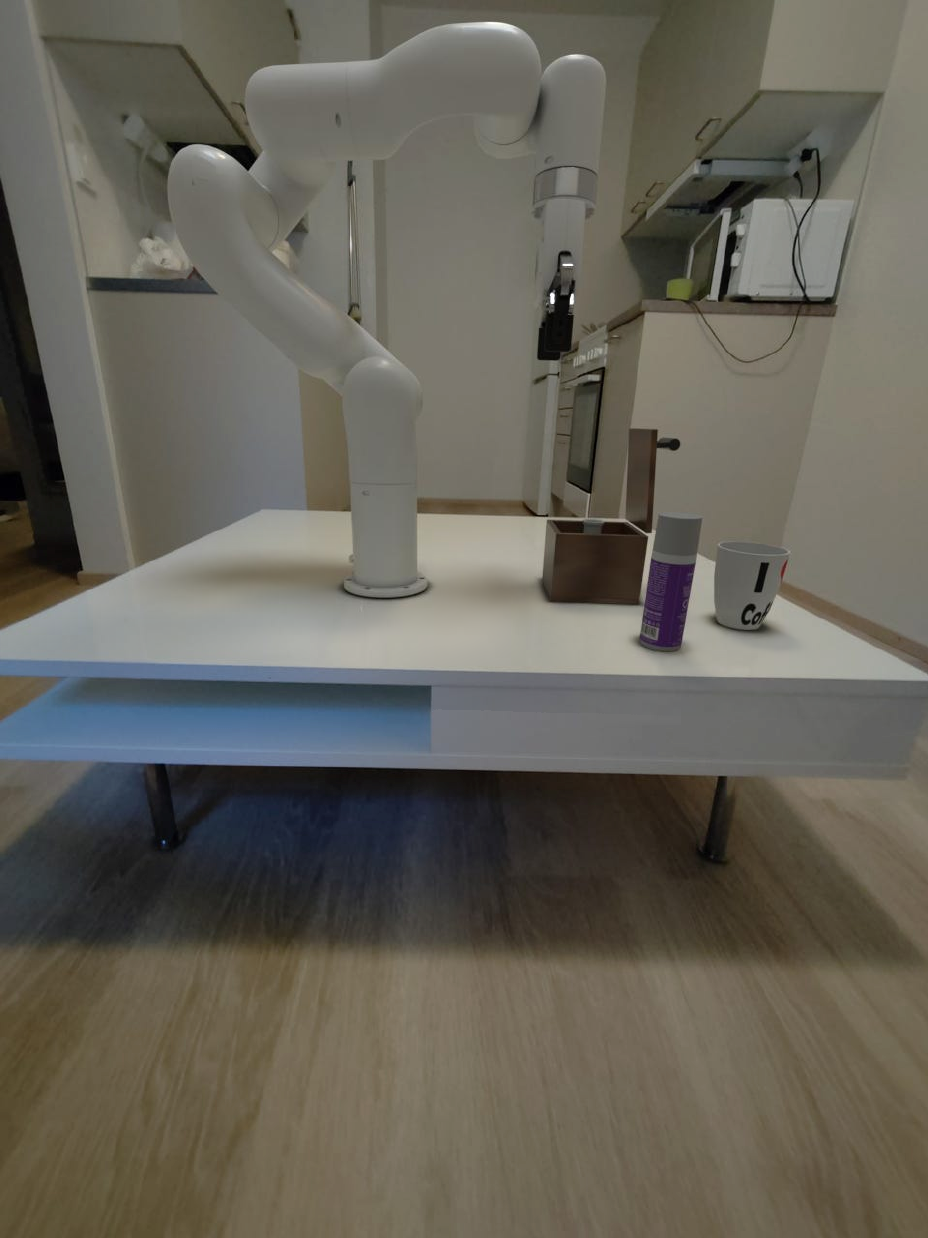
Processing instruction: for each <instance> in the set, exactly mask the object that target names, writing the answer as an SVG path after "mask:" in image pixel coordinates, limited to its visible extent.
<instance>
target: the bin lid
mask: <svg viewBox="0 0 928 1238" xmlns="http://www.w3.org/2000/svg"><path fill="white" fill-rule="evenodd" d="M658 435H659V429H657V428H637V427H636V428H632V427H631V428H628V446H627V469H626V472H627V473H626V493H625V494H626V495H625V517H624V519H625V521H626V522H628V523H629V524H631V525H632V526H634V527H635V528H637V529H638V530H640V531H641V532H643V533H644V534H652V533H653V521H654V502H655V488H656V487H655V484H656V469H657V451H658V449H660V450H663V451H664V450H665V451H671V452H675V451H678V450H679V449H680V447H681V440H680V439H678V438H675V437H661V438H659V439H658Z"/></svg>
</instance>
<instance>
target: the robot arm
mask: <svg viewBox="0 0 928 1238" xmlns="http://www.w3.org/2000/svg"><path fill="white" fill-rule="evenodd" d="M540 57H541V56H540V53H539V50H538V48H537V45H536V44H535V42H534V41H533V39H532V37H531V36H530V35H529V34H527V32H525V30H523V29H521V28H520V27H517V26H515V25H512V24H510V23H506V22H499V21H476V22H461V23H460V22H459V23H458V22H455V23H447V24H442V25H439V26H435V27H432V28H429V29H427V30H424V31H423V32H420V33H418V34H417V35H415V36H414V37H412V38H409V39H408V40H406V41H405V42H403V43H401V44H399V45H398V46H396V47H394V48H393V49H391V50H390V51H389V52H388V53H386V54H385V55H383V56H381V57H379V58H376V59H370V60H353V61H352V60H351V61H337V62H336V61H335V62H315V63H314V62H313V63H294V64H291V63H290V64H278V65H276V64H275V65H269V66H265V67H262V68H259V69H258V70H257V71H255V72H254V73H253V74H252V75H251V76H250V78H249V80H248V82H247V84H246V86H245V91H244V110H245V116H246V120H247V122H248V125H249V128H250V130H251V133H252V135H253V137H254V139H255V141H256V143H257V144H258V145H259V147H260V148H261V150H262V151H261V152H260V155H259V156H258V157H257V159H255V161H254V163H253V164H252V166H251V167H250V168H249V170H247V169H246V168H245V167H244V166H243V165H242V164H241V163H240V162H239V161H238V160H237V159H235V158H234V157H233V156H231V155H230V154H228V153H226V152H225V151H223V150H221V149H219V148H216V147H214V146H211V145H209V144H200V143H196V144H194V143H193V144H189V145H187V146H185V147H183V148H181V149H180V150H179V151H177V153H176V154H175V156H174V157H173V158H172V160H171V163H170V166H169V170H168V175H167V185H166V186H167V188H166V189H167V190H166V193H167V203H168V209H169V210H168V211H169V214H170V219H171V222H172V225H173V229H174V231H175V234H176V237H177V239H178V241H179V243H180V245H181V248H182V249H183V251H184V253H185V255H186V256H187V259H188V260H189V261H190V263H191V264H192V266H193V267H194V269H195V270H196V271H197V272H198V274H199V275H200V276H201V277H202V279H203V280H204V281H205V282H206V283H207V284H208V285H209V286H210V287H211V289H213V290H214V292H215V293H217V294H218V296H220V297H221V298H222V299H223V300H224V301H225V302H226V303H227V304H228V305H229V306H231V307H232V308H233V309H234V310H235V311H236V312H237V313H238V314H239V315H240V316H242V317H243V318H244V319H245V320H246V321H247V322H248V323H249V324H250V325H251V326H252V327H253V328H254V329H255V330H256V331H257V332H258V333H260V334H261V335H262V336H263V337H264V338H265V339H266V340H268V341H269V342H270V343H271V344H272V345H273V346H274V347H276V349H278V350H279V351H280V352H281V353H282V354H283V355H284V356H285V357H286V358H287V359H288V360H289V361H291V362H292V364H294V366H295V367H297V369H299V370H300V371H302V372H303V373H305V374H306V375H308V376H310V377H313V378H317V379H320V380H322V381H324V382H325V383H326V384H327V385H329V387H331V388H332V389H333V390H334V391H335V392H336V393H338V394H339V395H340V396H341V407H342V408H341V409H342V415H343V416H342V417H343V424H344V430H345V437H346V446H347V459H348V460H347V461H348V478H349V479H348V480H349V493H350V494H349V495H350V496H349V497H350V517H351V538H352V539H351V541H352V542H351V543H352V554H350V555H349V556H348V561H349V563H351V564H353V572H352V573H350V574H348V575H347V576H345V577H344V578H343V588H344V590H346V591H347V592H349V593H351V594H353V595H356V596H361V597H367V598H377V599H378V598H379V599H380V598H382V599H383V598H385V599H386V598H400V597H407V596H412V595H416V594H419V593H421V592H423V591H425V590H426V589H427V587H428V583H429V582H428V578H427V576H426V575H424V574H423V573H421V572H418V460H417V434H416V433H417V431H416V429H417V428H416V422H417V421H418V419H419V418H420V416H421V413H422V411H423V408H424V393H423V388H422V386H421V383H420V381H419V380H418V378H417V377H416V375H415V374H414V373H413V372H412V371H411V370H410V369H409V368H408V367H406V366H405V365H404V364H403V363H402V362H401V361H400V360H398V359H397V358H396V357H395V356H394V355H393V353H391V352H390V351H389V350H388V349H386V348H385V346H383V345H382V344H381V343H380V342H379V341H377V339H376V338H374V336H372V335H371V334H370V333H369V332H368V331H367V330H366V329H364V328H363V327H362V326H361V325H360V324H359V323H358V322H356V320H355V319H353V318H352V317H351V316H350V315H348V314H347V313H346V312H344V311H343V310H342V309H341V308H339V307H338V306H336V305H335V304H333V303H331V302H329V301H328V300H326V299H325V298H323V297H322V296H321V295H320V294H318V293H317V292H316V291H314V289H312V287H310V286H309V285H308V284H306V283H305V282H304V280H302V279H301V278H300V277H299V276H297V275H296V274H295V273H294V272H293V271H292V270H291V269H290V268H289V267H288V266H287V264H285V263H284V262H283V261H282V260H280V259H279V258H278V257H277V256H276V255H275V253H273V252H274V251H276V250H277V249H278V248H279V247H280V246H281V245H282V244H283V243H284V242H285V240H286V239H287V238H288V237H289V235H290V234H291V232H293V230H294V229H295V227H296V226H297V225H298V223H300V221H301V220H302V218H304V216H305V214H307V212H308V211H309V210H310V208H311V207H312V206H313V204H314V203H315V202H316V201H317V199H318V198H319V196H320V195H321V194H322V192H323V191H324V189H325V188H326V187H327V185H328V184H329V181H330V180H331V178H332V176H333V174H334V171H335V170H336V166H337V163H338V162H355V161H356V162H357V161H381V160H382V161H383V160H388V159H390V158H392V157H393V156H395V154H396V153H397V151H399V149H400V148H401V147H402V145H403V144H404V142H405V141H406V140H407V138H408V137H409V136H410V135H411V134H412V133H413V132H415V131H416V130H417V129H419V128H421V127H422V126H424V125H427V124H428V123H431V122H434V121H437V120H440V119H441V120H442V119H446V118H453V117H472V128H473V134H474V137H475V141H476V142H477V144H478V146H479V148H480V149H481V150H482V151H483V152H484V153H485V154H486V155H488V156H490V157H491V158H493V159H498V160H499V159H500V160H510V159H516V158H520V157H524V156H529V155H530V156H531V155H535V158H534V159H535V161H534V175H533V176H534V178H533V189H532V190H533V191H532V192H533V193H532V209H531V215H532V217H533V218H534V219H536V220H537V221H539V225H538V234H537V245H536V254H535V255H536V256H535V269H534V284H533V293H532V294H533V296H532V304H531V305H532V308H533V309H534V310H538V309H539V307H542V308H541V315H540V322H539V323H540V324H539V327H538V336H537V349H536V350H537V351H536V359H537V360H538V361H551V362H552V361H553V362H555V361H559V360H561V357H562V355H561V354H562V353H569V352H570V351H571V350H572V342H573V332H574V331H573V330H574V319H575V314H574V308H575V300H576V298H577V297H578V294H579V288H580V282H581V274H582V273H581V272H582V265H583V255H584V254H583V253H584V242H585V241H584V240H585V226H586V220H589V219H590V218H592V217H593V216H594V215H595V213H596V203H597V193H598V192H597V191H598V182H599V181H598V180H599V179H598V178H599V169H600V157H601V148H602V136H603V127H604V126H603V125H604V113H605V103H606V94H607V93H606V91H607V75H606V70H605V68H604V67H603V65H602V63H600V61H598V60H597V59H596V58H595V57H593V56H590V55H587V54H567V55H564V56H561V57H559V58H557V59H555V60H553V62H551V63H550V64H549V65H548V66H547V67H546V68H545V70H544V71H542V62H541V58H540Z"/></svg>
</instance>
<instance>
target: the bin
mask: <svg viewBox="0 0 928 1238" xmlns="http://www.w3.org/2000/svg"><path fill="white" fill-rule="evenodd" d="M604 521H605V520H604ZM545 526H546V527H545V539H544V551H543V564H542V576H541V577H542V578H541V579H542V582H543V586H544V588H545V590H546V593H547V597H548V598H549V601H550V602H555V603H557V602H558V603H587V604H611V605H613V604H615V605H639V604H640V598H641V592H642V586H643V579H644V578H643V577H644V571H645V563H646V558H647V557H646V556H647V549H648V541H649V536H648V535H647V534H646V533H645V532H643V531H642V530H640V529H639V528H638V527H636V526H635V525H633V524H632V523H630V522H629V521H607V520H606V521H605V524H604V525H603V527H602V534H584V524H583V520H576V519H574V520H573V519H572V520H571V519H546V525H545Z"/></svg>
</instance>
